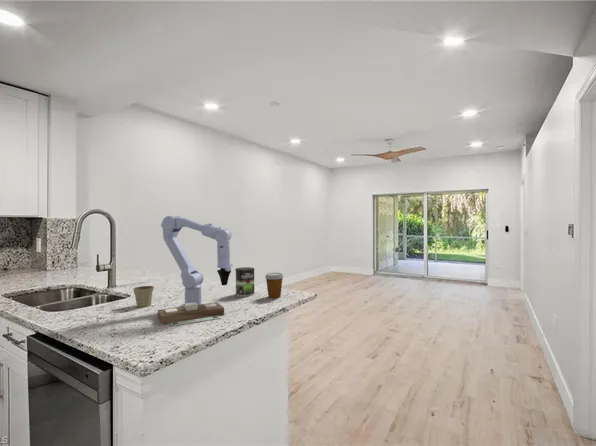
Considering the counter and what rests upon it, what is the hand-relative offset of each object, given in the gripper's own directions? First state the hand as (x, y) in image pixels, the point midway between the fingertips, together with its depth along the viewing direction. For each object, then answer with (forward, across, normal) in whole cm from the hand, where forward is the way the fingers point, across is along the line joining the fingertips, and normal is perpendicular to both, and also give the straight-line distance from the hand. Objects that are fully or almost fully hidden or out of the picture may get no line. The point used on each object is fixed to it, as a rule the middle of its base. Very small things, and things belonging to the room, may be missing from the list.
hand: (224, 285), depth 153 cm
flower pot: (+10, +24, +32) cm, 42 cm away
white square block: (+10, -6, +8) cm, 14 cm away
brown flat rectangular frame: (+10, -6, +16) cm, 20 cm away
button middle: (+9, -6, +16) cm, 19 cm away
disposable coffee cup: (+11, +7, -29) cm, 31 cm away
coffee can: (+11, +21, -18) cm, 30 cm away
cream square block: (+10, -6, +24) cm, 27 cm away
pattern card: (+10, -14, +16) cm, 24 cm away
